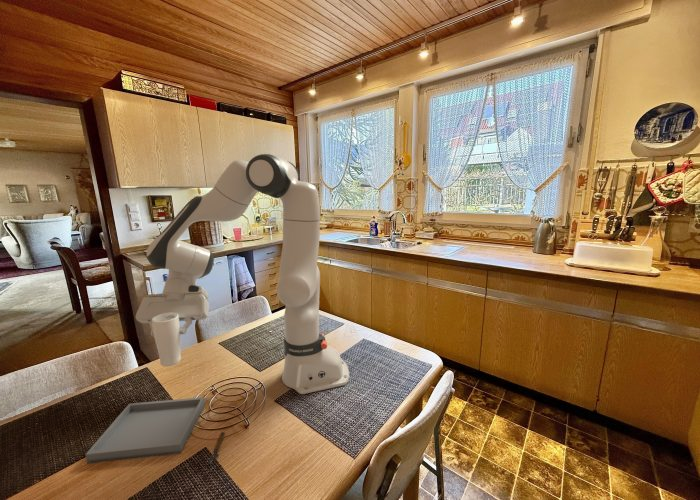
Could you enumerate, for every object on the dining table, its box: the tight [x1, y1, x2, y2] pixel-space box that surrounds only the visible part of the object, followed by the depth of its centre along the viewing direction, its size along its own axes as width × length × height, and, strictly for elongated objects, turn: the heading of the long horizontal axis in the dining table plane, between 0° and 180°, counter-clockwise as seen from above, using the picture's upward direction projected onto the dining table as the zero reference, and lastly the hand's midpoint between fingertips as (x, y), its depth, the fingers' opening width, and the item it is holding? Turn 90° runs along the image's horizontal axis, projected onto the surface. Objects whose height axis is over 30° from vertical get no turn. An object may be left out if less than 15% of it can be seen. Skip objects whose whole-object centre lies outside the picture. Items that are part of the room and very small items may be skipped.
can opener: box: [208, 431, 226, 466], centre depth 68 cm, size 9×2×1 cm, turn 0°
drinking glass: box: [152, 312, 182, 368], centre depth 86 cm, size 7×7×15 cm
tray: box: [84, 396, 206, 465], centre depth 74 cm, size 20×16×2 cm
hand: (168, 334), depth 86 cm, fingers closed on drinking glass, 6 cm apart
